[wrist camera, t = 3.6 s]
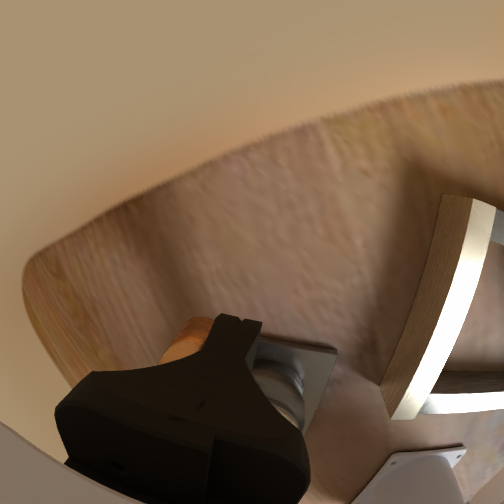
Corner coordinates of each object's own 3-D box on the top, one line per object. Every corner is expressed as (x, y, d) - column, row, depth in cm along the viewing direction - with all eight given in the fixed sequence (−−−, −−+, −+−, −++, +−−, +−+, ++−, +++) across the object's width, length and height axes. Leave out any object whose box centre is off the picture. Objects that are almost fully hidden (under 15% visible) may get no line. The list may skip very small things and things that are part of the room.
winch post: (303, 433, 17) (302, 466, 14) (198, 412, 18) (186, 444, 15) (336, 349, 15) (343, 382, 12) (208, 324, 16) (192, 353, 13)
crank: (306, 445, 13) (306, 498, 10) (228, 454, 14) (216, 503, 11) (255, 294, 12) (240, 341, 8) (157, 317, 12) (117, 360, 9)
